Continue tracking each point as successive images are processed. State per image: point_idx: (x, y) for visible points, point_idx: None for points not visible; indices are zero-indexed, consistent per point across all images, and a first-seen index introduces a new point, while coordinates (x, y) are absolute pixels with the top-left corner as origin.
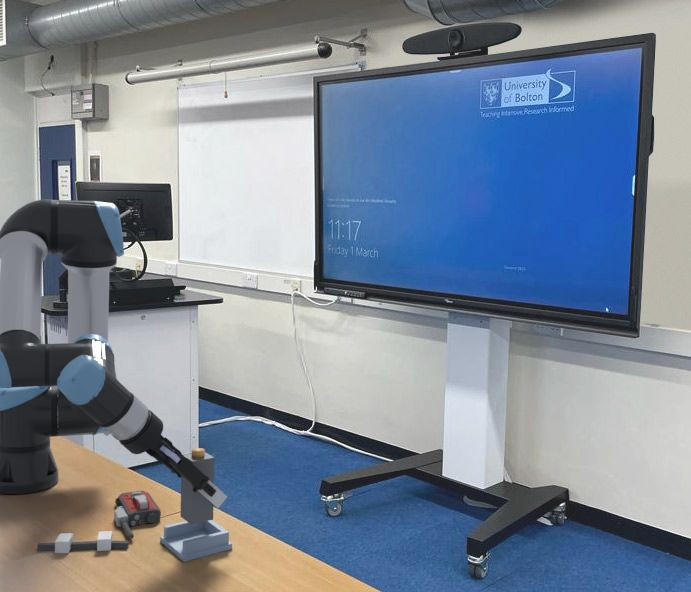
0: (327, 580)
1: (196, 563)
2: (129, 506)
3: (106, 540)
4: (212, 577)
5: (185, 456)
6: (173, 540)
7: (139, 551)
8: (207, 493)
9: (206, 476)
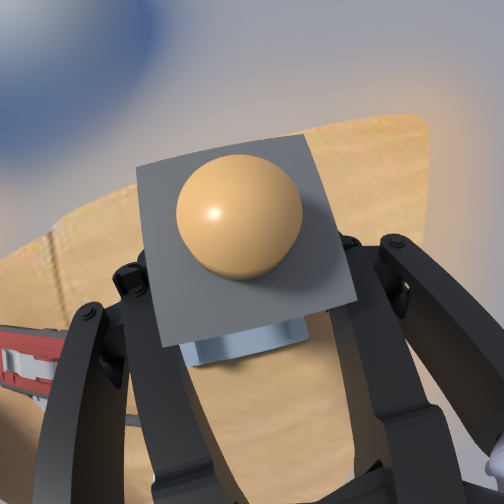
0: (415, 135)
1: (321, 313)
2: (45, 391)
3: None
4: None
5: (211, 328)
6: (217, 344)
7: (223, 415)
8: None
9: (404, 244)
